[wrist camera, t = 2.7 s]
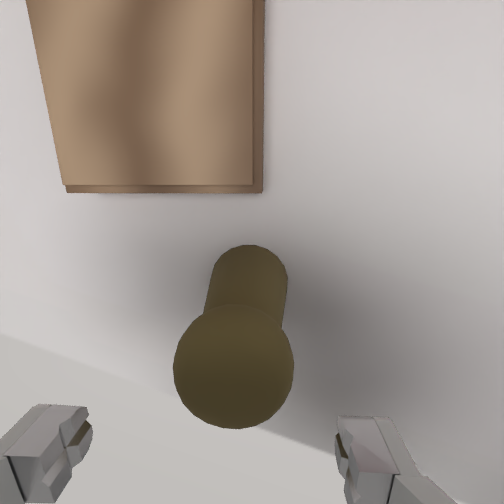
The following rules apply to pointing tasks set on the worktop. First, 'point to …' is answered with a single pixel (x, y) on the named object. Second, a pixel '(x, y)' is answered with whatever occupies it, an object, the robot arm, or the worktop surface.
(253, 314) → the cork
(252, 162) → the walnut stand
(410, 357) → the worktop surface
